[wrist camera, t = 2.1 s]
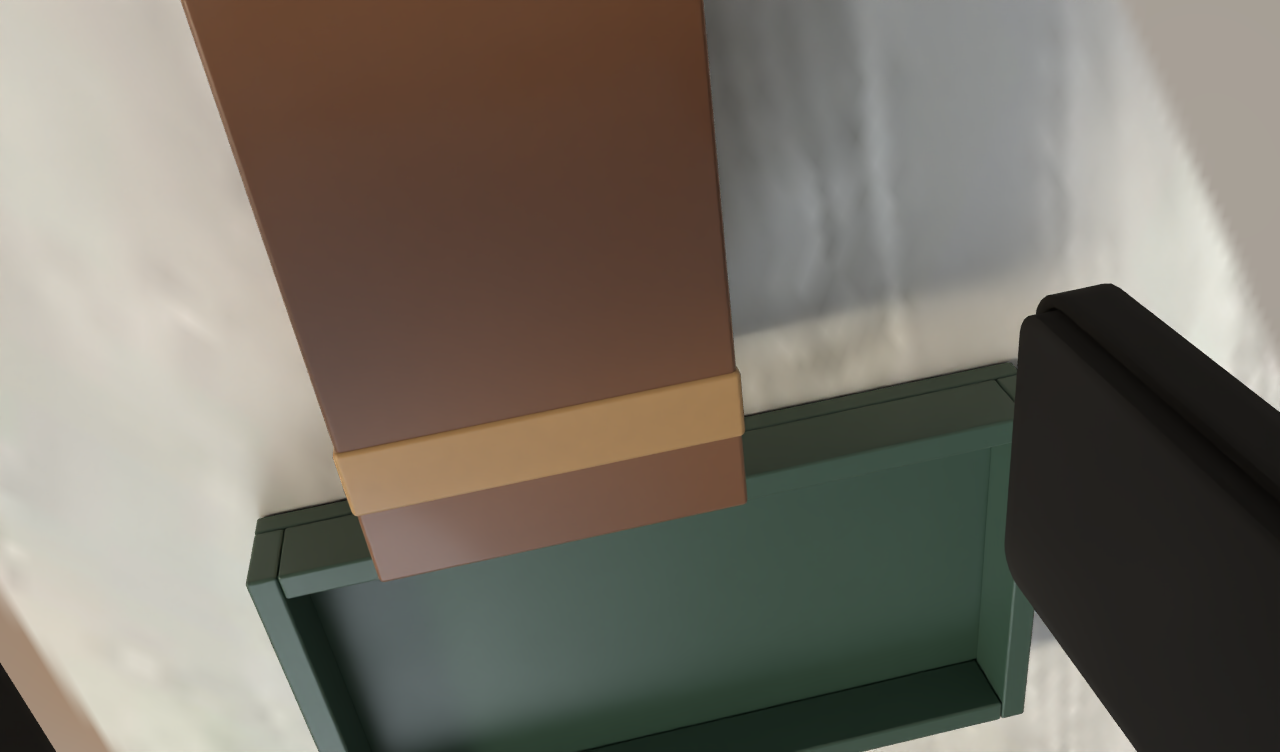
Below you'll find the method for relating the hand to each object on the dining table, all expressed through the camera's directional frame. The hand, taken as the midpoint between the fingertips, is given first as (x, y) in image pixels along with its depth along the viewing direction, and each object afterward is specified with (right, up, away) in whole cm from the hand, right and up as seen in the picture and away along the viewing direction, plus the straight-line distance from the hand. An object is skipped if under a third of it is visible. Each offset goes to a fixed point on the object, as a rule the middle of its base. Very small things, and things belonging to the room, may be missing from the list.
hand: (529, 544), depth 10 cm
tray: (+2, -4, +16) cm, 16 cm away
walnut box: (-2, +6, +9) cm, 11 cm away
